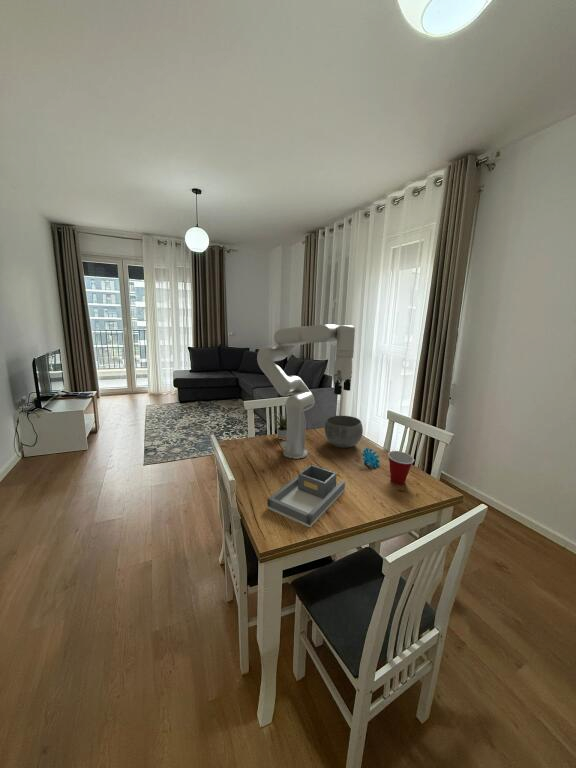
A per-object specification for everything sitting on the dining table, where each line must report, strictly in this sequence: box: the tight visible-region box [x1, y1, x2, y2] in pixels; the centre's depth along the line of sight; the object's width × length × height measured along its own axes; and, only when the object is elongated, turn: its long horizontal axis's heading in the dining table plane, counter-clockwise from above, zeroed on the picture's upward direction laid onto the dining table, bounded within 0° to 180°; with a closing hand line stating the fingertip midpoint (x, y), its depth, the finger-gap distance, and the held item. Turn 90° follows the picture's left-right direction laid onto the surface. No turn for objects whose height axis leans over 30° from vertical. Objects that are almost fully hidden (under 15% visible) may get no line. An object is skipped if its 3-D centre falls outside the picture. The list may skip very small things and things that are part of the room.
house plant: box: [272, 412, 287, 439], centre depth 176 cm, size 14×14×16 cm
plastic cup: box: [387, 450, 415, 485], centre depth 132 cm, size 11×11×12 cm
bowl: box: [324, 415, 364, 449], centre depth 168 cm, size 20×20×15 cm
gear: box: [361, 447, 381, 469], centre depth 148 cm, size 11×6×10 cm
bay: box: [267, 475, 346, 528], centre depth 118 cm, size 18×28×4 cm, turn 146°
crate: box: [297, 464, 338, 499], centre depth 123 cm, size 12×10×7 cm
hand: (342, 392), depth 137 cm, fingers open, 9 cm apart
